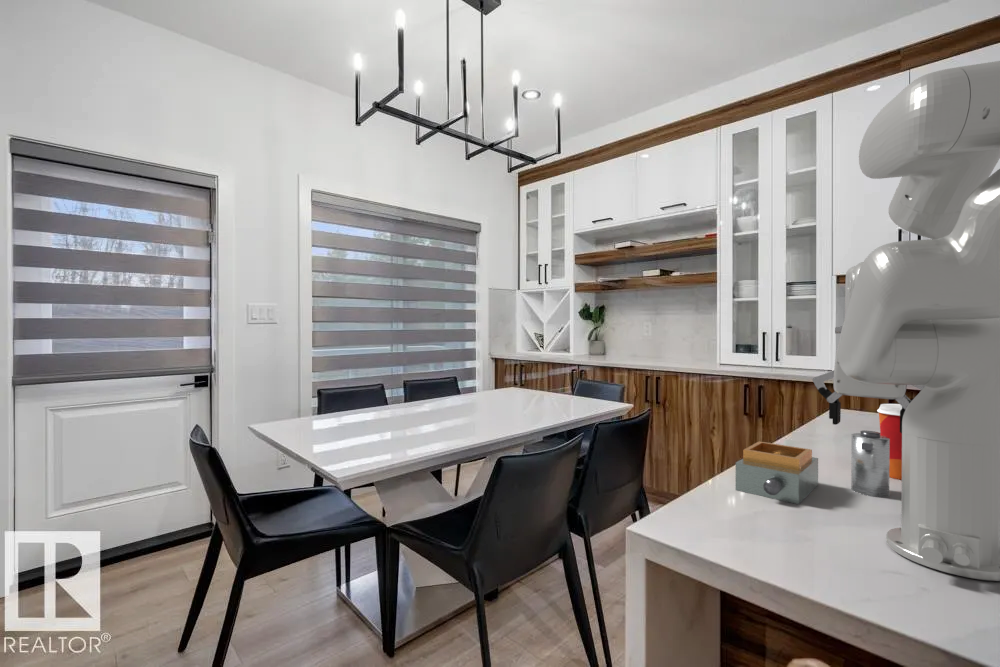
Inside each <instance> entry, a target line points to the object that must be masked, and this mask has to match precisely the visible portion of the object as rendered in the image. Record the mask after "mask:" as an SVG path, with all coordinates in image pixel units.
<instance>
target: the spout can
mask: <svg viewBox="0 0 1000 667" xmlns="http://www.w3.org/2000/svg"><path fill="white" fill-rule="evenodd" d="M850 450H851V461H850V462H851V463H850V464H851V466H850V467H851V468H850V469H851V471H850V472H851V475H850V476H851V477H850V478H851V479H850V482H851V483H850V484H851V486H850V487H851V490H852V491H853V492H854V491H855V492H854V493H856V492H858V493H857V494H859V493H861V494H860V495H863V494H864V496H867V495H868V497H873V498H874V497H875V498H888V497H889V496H890V477H889V467H890V438H888V437H885V436H881V435H880V431H879V432H878V431H876V430H875V431H873V430H860V432H856V433H851V449H850Z"/></svg>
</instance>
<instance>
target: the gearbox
mask: <svg viewBox="0 0 1000 667" xmlns="http://www.w3.org/2000/svg"><path fill="white" fill-rule="evenodd" d="M742 452H743V454H742V456H743V458H742V459H739V460H738V461H735V491H738V492H739V491H740V492H744V493H748V494H751V495H756V496H761V497H765V498H769V499H774V500H779V501H783V502H786V501H787V502H788V503H791V504H795V503H796V505H800V504H801V502H803V501H804V499H806V497H807V496H808V495H809V494H810V493H811V492H812V491H813V490H814V489H815V488H817V486H818V485H819V458H818V457H813V449H811V448H805V447H797V446H792V445H785V444H777V443H771V442H765V441H757V442H755V443H753V444H752V445H749V446H748V447H746V448H744V449H743V450H742Z"/></svg>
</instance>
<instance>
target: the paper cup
mask: <svg viewBox="0 0 1000 667" xmlns="http://www.w3.org/2000/svg"><path fill="white" fill-rule="evenodd" d="M901 409H902V406H901V405H900V404H899V403H880V405H879V408H878V409H877V410H876V411H877V413H878V416H879V417H878V419H879V433H880V435H881V436H885V437H888V438H890V467H889V479H893V480H898V481H902V433H901V432H900V411H901Z"/></svg>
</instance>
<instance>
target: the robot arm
mask: <svg viewBox="0 0 1000 667" xmlns="http://www.w3.org/2000/svg"><path fill="white" fill-rule="evenodd" d="M999 160H1000V60H996V61H989V62H983V63H982V62H981V63H977V64H975V63H974V64H971V65H970V64H969V65H962V66H957V67H951V68H945V69H940V70H937V71H932V72H929V73H927V74H923V75H922V76H920V77H918V78H916V79H915V80H912V81H911V82H910V83H908V85H907V86H905V87H904V88H903V89H902V90H901V91H900V92H899V93H898V94H897V95H895V97H894V98H892V99H891V100H890V101H889V102H888V103H886V105H884V107H882V108H881V109H880V111H879V112H878V113H877V114H876V115H875V116H874V117H873V119H872V120H871V121H870V124H869V125H868V127H867V128H866V130H865V132H864V134H863V137H862V140H861V143H860V146H859V151H858V165H859V169H860V170H861V172H862V174H863V175H864V176H866V177H867V178H869V179H874V180H876V179H877V180H878V179H879V180H881V179H889V178H891V179H892V178H901V179H900V180H899V183H898V185H897V188H896V190H895V192H894V194H893V196H892V199H891V200H890V202H889V206H888V215H889V217H890V219H891V221H892V222H893V223H894V224H895V225H896V226H897V227H899V228H901V229H902V230H904V231H907V232H909V233H911V234H914V235H917V236H921V237H924V238H927V239H915V240H914V239H913V240H912V239H911V240H899V241H894V242H889V243H886V244H881V245H880V246H879V247H877V248H875V249H873V250H872V251H871V252H870V253H869V254H868V255H867V256H866V258H864V260H863V261H862V262H859V263H857V264H856V265H854V266H852V267H850V268H848V269H847V271H846V273H845V284H844V285H845V289H844V290H845V291H844V292H845V294H844V296H845V298H844V299H845V300H844V301H845V302H844V321H843V323H842V325H840V326H835V327H834V333H835V335H840V336H839V339H838V344H837V349H836V353H835V360H834V370H831V371H828V372H826V373H823V374H820V375H817V376H815V377H813V378H812V382H813V383H814V386H815V387H816V389H817V391H818V393H819V394H820V395H821V396H822V397H823V398H825V400H826V402H828V403H829V404H828V406H829V408H828V410H829V411H828V418H829V419H830V420H832V425H839V424H840V423H841V410H842V409H841V405H842V403H841V401H840V399H839V398H841V397H843V396H849V397H850V396H852V397H861V398H871V399H883V400H884V399H885V400H895V401H896V402H897V404H900V405H901V406H902V409H901V411H900V432H901V433H902V480H901V500H900V501H901V503H900V504H901V508H900V509H901V512H900V513H901V514H900V516H901V518H900V519H901V521H900V522H901V523H900V527H896V528H892V529H890V530H888V531H887V532H886V538H885V539H886V544H887V545H888V546H889V547H890V548H891V549H892V550H893V551H894V552H896V553H897V554H899V555H900V556H901V557H904V558H906V559H908V560H909V561H912V562H914V563H916V564H919V565H922V566H924V567H928V568H930V569H933V570H937V571H939V572H943V573H946V574H951V575H955V576H958V577H964V578H969V579H975V580H981V581H994V582H1000V168H999V169H997V170H996V171H995V172H994V173H993V171H994V169H995V167H996V166H997V164H998V163H999ZM832 379H833V380H832ZM828 380H832V381H833V390H834V391H833V392H832V391H830V389H829V388H828V387H826V385H825V382H826V381H828ZM907 386H914V387H915V388H917V389H919V390H920V391H919V393H917V395H916V396H915V397H913V398H911V399H910V398H909V397H908V396H907V395H906V392H907V388H908V387H907Z"/></svg>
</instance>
